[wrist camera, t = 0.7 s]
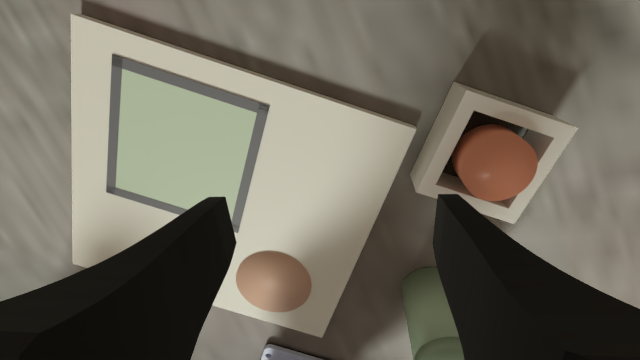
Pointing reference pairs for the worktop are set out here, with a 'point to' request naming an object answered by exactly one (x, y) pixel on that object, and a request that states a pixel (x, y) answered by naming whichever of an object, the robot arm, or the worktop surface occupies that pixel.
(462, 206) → the robot arm
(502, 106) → the button housing
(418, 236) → the worktop surface
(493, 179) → the button
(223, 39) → the worktop surface
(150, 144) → the picture board
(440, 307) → the sage marker
